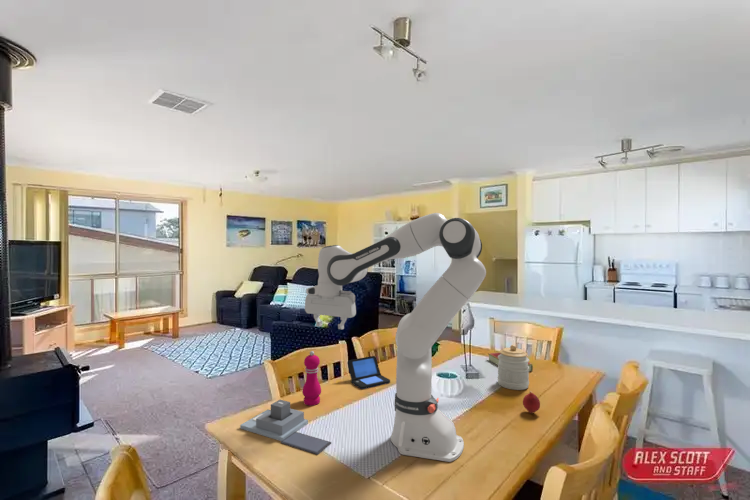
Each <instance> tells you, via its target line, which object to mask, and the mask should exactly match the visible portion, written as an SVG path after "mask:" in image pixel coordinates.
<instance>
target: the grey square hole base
mask: <svg viewBox="0 0 750 500" xmlns="http://www.w3.org/2000/svg"><path fill="white" fill-rule="evenodd" d="M308 424H309V419H306V418H305V412H304V411H302V410H298V409H293V408H290V416H288V417H287V418H285V419H284V420H282V421H280V420H276V419H273V418H271V409H266V410H264V411H262V412H261V413H259V414H258V415H254V417H252V418H250V419H248V420H247V421H245V422H243V423H241V424H240V425H239V426H240V428H239V429H241V430H243V431H247V432H250V433H254V434H257V435H260V436H263V437H266V438H269V439H273V440H275V441H276V440H277V441H280V442H281V441H282V440H284V439H285V438H287V437H288V436H290V435H291V434H293V433H294V432H298V431H300V430H301V429H303V428H304V427H305V426H307V425H308Z"/></svg>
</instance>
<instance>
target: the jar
mask: <svg viewBox="0 0 750 500" xmlns="http://www.w3.org/2000/svg"><path fill="white" fill-rule="evenodd" d="M499 352H500V353H501V354H500V355H498V359H499V363H498V365H497V382H498V385H499V386H500V387H502V388H505V389H509V390H514V391H523V390H526V389H528V388H529V385H530V380H529V378H530V377H529V373H530V371H529V366H528V362H529V363H530V359H529V357H527V356H528V353H527V352H526V351H524V350H523V349H521V348H517V345H516V344H511V345H510V347H504V348H503V349H501V350H500V351H499Z"/></svg>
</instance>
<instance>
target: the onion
mask: <svg viewBox="0 0 750 500" xmlns="http://www.w3.org/2000/svg"><path fill="white" fill-rule="evenodd" d="M522 405H523V407H524V408H525V409H526V411H528V412H529V414H533V413H536V412H538V411H539V410H540V407H541V401H540V399H539V398H538V396H537V395H536V394H534V392H533V391H532V390H529V393H527V394H525V395H524V397H523V399H522Z"/></svg>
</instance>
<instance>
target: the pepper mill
mask: <svg viewBox="0 0 750 500" xmlns="http://www.w3.org/2000/svg"><path fill="white" fill-rule="evenodd" d="M320 363H321V361H320V357H319V356H318V355H316V354H315V352H314V350H311V351H309V355H307V356H306V357H305V358H304V361H303V364H304V366H305V370H304V371H305V373H306V380H305V382H304V385H303V388H302V390H301V391H302V395H303V404H304V405H305V406H316V405H318V404H320V402H321V397H320V395H321V394H322V386H321V383H320V382H319V378H318V373H319V365H320Z"/></svg>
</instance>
